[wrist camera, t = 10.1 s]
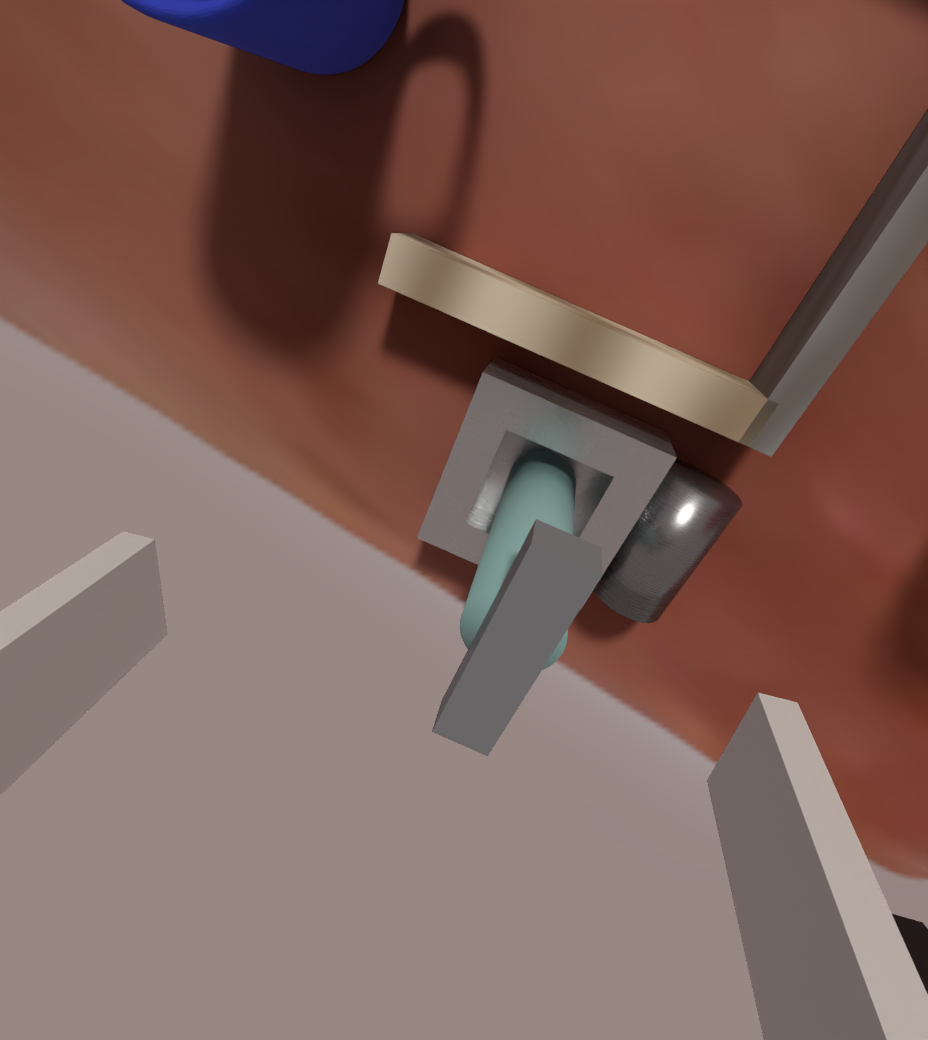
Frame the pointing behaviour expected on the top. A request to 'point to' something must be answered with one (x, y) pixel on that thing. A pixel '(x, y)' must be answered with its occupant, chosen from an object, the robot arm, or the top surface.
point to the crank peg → (519, 600)
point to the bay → (671, 373)
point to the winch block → (583, 487)
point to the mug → (287, 28)
